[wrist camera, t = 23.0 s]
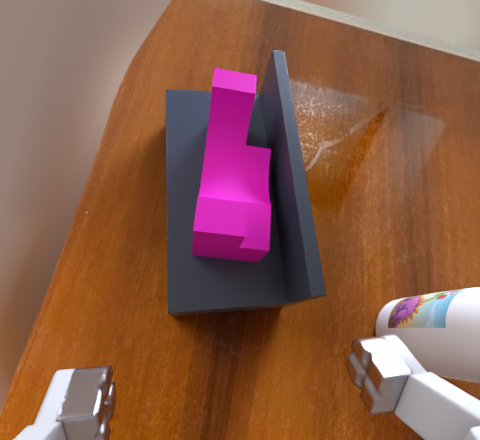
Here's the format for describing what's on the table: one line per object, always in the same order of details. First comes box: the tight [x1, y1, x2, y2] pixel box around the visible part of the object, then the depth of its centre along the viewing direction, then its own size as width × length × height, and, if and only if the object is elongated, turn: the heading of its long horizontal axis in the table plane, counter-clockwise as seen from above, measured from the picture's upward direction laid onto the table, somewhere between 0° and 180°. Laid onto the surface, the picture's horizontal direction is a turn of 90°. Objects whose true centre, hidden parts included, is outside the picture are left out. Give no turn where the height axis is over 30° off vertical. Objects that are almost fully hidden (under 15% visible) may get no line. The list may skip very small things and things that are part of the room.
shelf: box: [166, 50, 326, 316], centre depth 32 cm, size 12×24×12 cm, turn 5°
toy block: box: [192, 68, 271, 262], centre depth 29 cm, size 15×6×8 cm, turn 176°
